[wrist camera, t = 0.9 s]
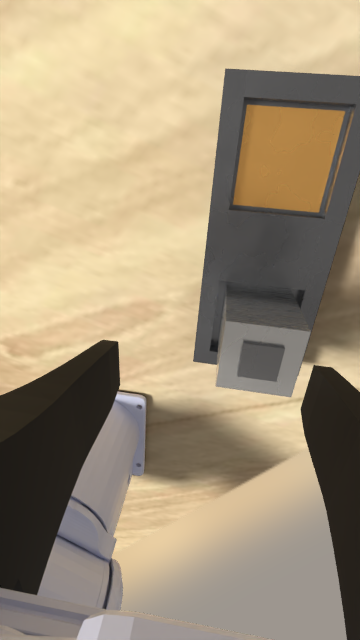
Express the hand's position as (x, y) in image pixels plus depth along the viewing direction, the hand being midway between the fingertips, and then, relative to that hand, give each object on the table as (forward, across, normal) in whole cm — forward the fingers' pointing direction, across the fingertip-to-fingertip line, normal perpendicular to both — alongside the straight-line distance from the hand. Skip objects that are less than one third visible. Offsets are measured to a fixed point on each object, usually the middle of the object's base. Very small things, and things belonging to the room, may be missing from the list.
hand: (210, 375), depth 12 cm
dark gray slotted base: (+10, -2, -3) cm, 11 cm away
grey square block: (+9, -2, +2) cm, 10 cm away
